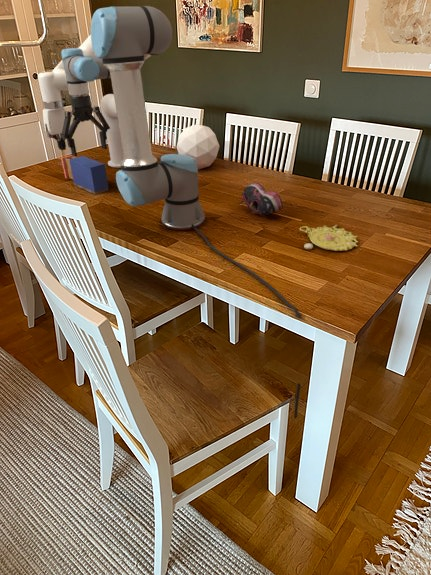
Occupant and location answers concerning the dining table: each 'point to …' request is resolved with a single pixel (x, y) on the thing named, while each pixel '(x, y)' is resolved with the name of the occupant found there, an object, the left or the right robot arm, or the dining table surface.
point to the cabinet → (89, 174)
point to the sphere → (198, 145)
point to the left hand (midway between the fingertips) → (62, 149)
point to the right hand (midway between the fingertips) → (89, 152)
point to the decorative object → (330, 238)
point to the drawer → (66, 166)
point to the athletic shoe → (261, 200)
